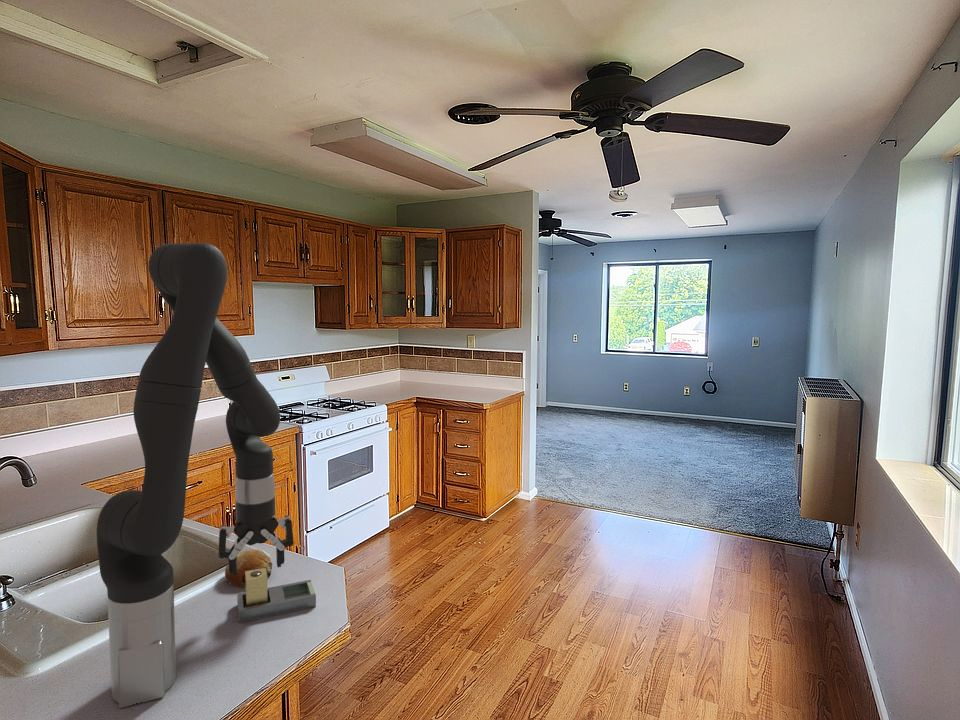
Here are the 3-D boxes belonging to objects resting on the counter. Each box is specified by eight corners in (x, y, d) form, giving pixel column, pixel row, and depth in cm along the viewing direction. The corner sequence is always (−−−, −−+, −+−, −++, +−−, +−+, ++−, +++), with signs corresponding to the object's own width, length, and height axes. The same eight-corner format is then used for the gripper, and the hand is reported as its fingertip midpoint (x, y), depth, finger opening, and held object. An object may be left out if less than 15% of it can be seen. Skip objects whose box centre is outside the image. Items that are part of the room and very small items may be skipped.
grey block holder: (315, 606, 115) (315, 595, 115) (239, 623, 109) (238, 611, 108) (310, 590, 121) (310, 579, 121) (237, 604, 115) (237, 593, 114)
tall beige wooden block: (267, 613, 112) (267, 576, 111) (246, 617, 111) (246, 580, 110) (265, 603, 116) (265, 567, 115) (245, 607, 114) (245, 570, 113)
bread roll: (263, 578, 132) (255, 546, 134) (283, 574, 126) (275, 540, 127) (222, 594, 125) (215, 560, 126) (242, 591, 119) (234, 555, 120)
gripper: (217, 507, 104) (219, 586, 106) (294, 497, 110) (295, 571, 112) (216, 493, 111) (219, 568, 113) (289, 484, 117) (290, 554, 119)
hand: (257, 569), depth 113 cm, fingers open, 8 cm apart
